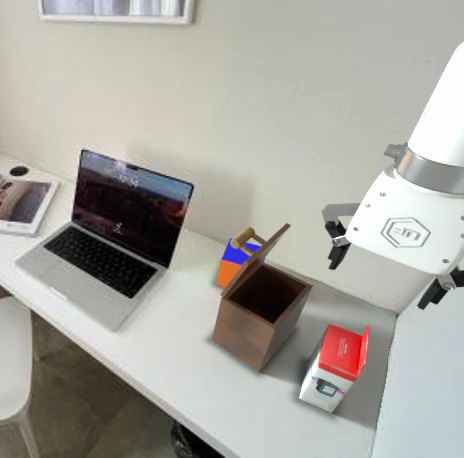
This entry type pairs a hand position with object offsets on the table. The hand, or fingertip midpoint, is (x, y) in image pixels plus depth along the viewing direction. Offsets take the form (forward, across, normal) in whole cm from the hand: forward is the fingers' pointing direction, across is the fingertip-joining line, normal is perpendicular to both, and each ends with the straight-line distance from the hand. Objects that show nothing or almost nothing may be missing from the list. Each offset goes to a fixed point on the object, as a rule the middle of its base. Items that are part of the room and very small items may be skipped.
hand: (376, 282), depth 47 cm
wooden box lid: (+8, -15, +2) cm, 17 cm away
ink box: (+26, +1, 0) cm, 26 cm away
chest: (+26, -12, +2) cm, 29 cm away
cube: (+26, -22, +14) cm, 37 cm away
